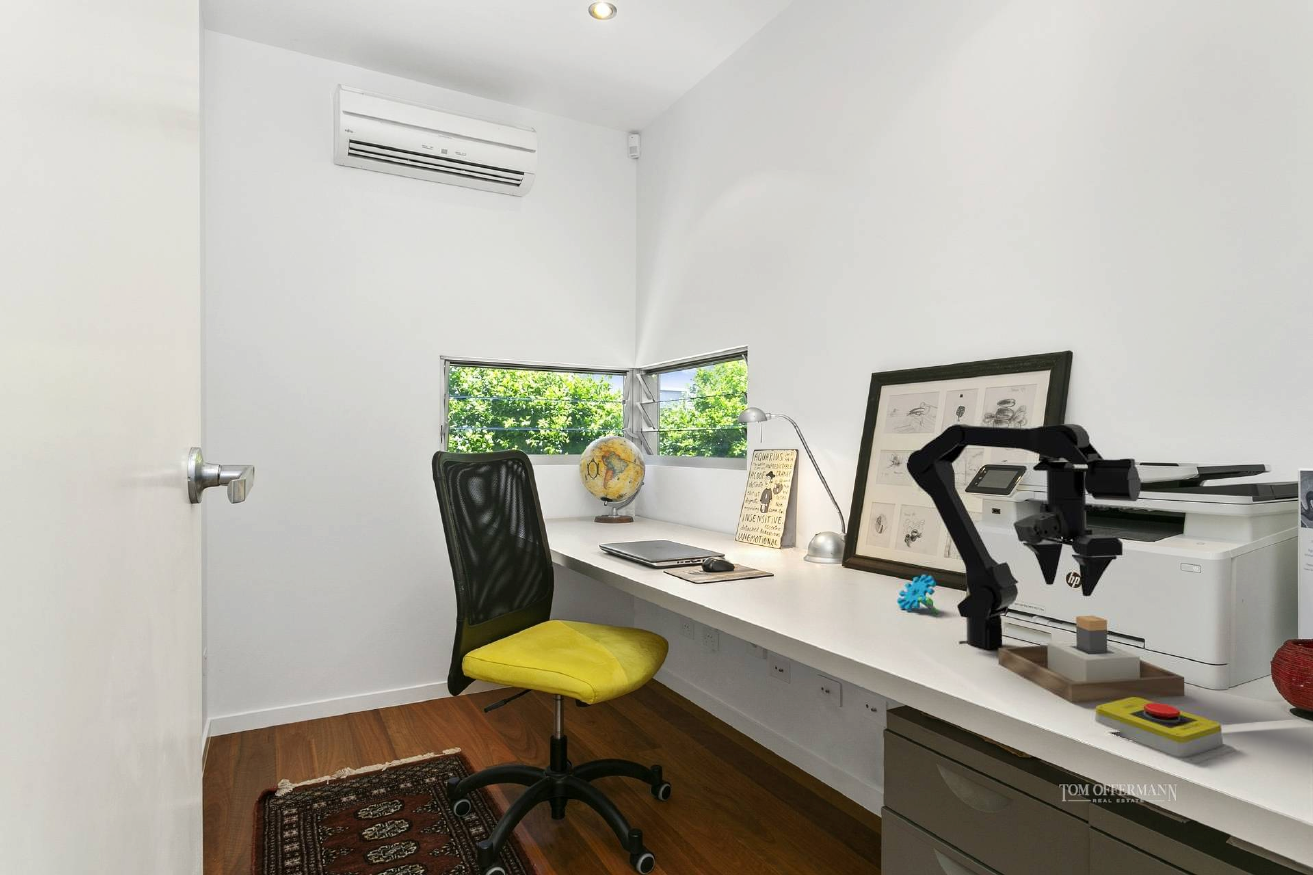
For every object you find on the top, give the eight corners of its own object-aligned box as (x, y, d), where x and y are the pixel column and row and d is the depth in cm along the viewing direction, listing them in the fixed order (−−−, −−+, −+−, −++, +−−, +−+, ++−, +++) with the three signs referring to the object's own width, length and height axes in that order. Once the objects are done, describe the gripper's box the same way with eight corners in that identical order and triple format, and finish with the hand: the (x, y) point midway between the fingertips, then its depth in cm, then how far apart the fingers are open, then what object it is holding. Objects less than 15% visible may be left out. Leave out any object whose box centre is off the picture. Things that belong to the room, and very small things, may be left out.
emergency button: (1193, 732, 87) (1076, 692, 101) (1194, 769, 87) (1076, 724, 101) (1238, 718, 91) (1119, 682, 105) (1239, 753, 91) (1120, 712, 105)
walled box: (998, 668, 123) (998, 647, 123) (1096, 662, 125) (1096, 642, 125) (1071, 708, 105) (1071, 684, 105) (1184, 700, 107) (1184, 677, 107)
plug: (1076, 665, 118) (1076, 616, 118) (1094, 664, 118) (1093, 615, 118) (1090, 671, 115) (1089, 621, 115) (1107, 670, 115) (1106, 620, 115)
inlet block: (1047, 668, 120) (1047, 642, 120) (1097, 665, 122) (1097, 640, 122) (1086, 687, 112) (1085, 659, 112) (1140, 683, 113) (1139, 656, 113)
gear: (889, 596, 170) (920, 566, 169) (905, 613, 171) (936, 583, 170) (908, 615, 159) (941, 583, 159) (926, 632, 160) (959, 600, 159)
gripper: (989, 494, 132) (991, 581, 132) (1058, 504, 113) (1060, 605, 113) (1047, 493, 133) (1048, 578, 133) (1124, 502, 115) (1125, 601, 115)
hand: (1067, 590), depth 124 cm, fingers open, 9 cm apart
